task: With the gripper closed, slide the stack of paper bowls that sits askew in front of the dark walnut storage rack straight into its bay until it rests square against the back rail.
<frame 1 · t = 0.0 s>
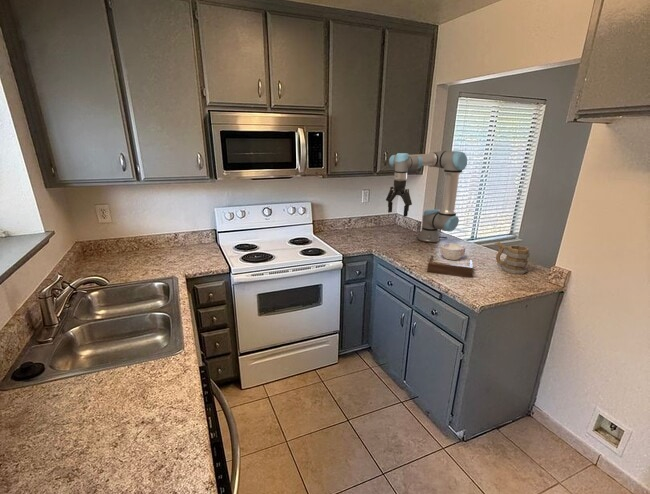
hand: (397, 214, 225), 28 cm above the counter, tool pointing down, fingers open, 13 cm apart
paper bowls: (451, 258, 233), on the counter
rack: (449, 268, 214), on the counter
tankard: (507, 268, 215), on the counter
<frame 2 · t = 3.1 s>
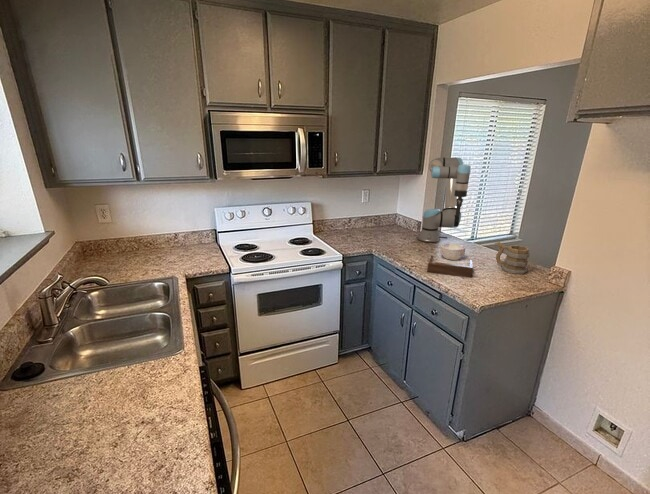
hand: (456, 224, 237), 19 cm above the counter, tool pointing down, fingers open, 8 cm apart
nothing on the counter moved.
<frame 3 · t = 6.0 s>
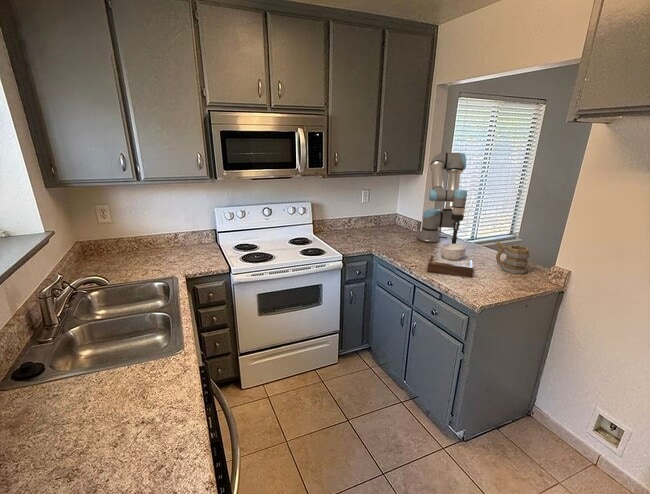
hand: (452, 248, 240), 4 cm above the counter, tool pointing down, fingers closed
paper bowls: (451, 258, 233), on the counter, touching gripper
everything else where it was.
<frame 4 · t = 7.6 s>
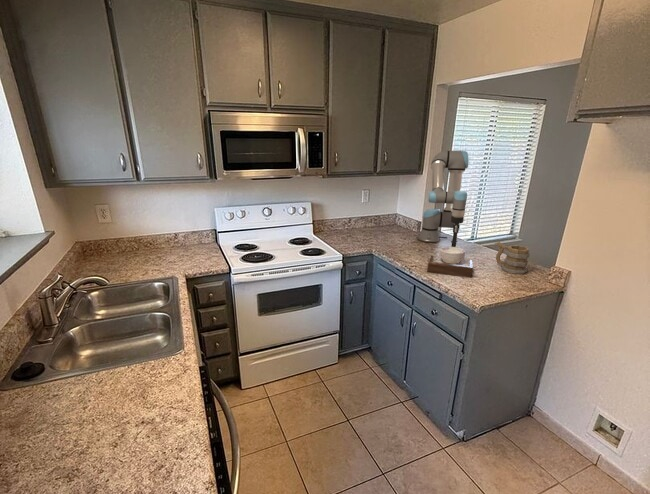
hand: (452, 251, 233), 4 cm above the counter, tool pointing down, fingers closed
paper bowls: (450, 261, 226), on the counter, touching gripper
everything else where it was.
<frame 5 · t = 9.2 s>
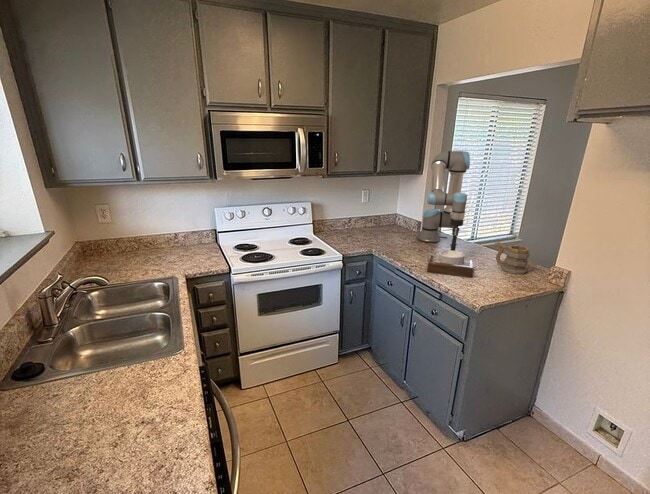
hand: (452, 255, 226), 4 cm above the counter, tool pointing down, fingers closed
paper bowls: (450, 265, 219), on the counter, touching gripper
everything else where it was.
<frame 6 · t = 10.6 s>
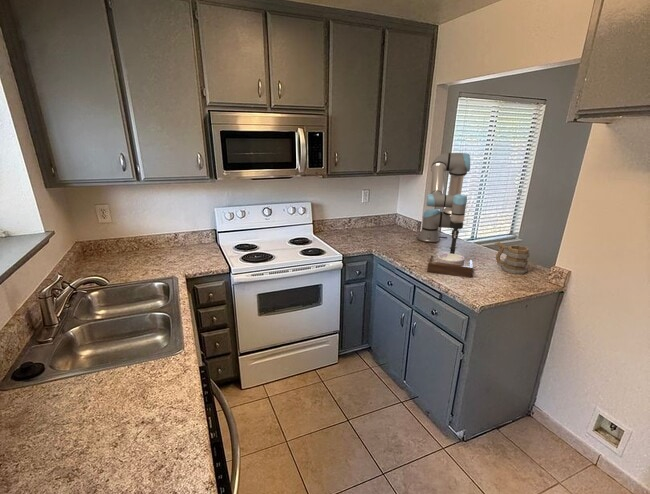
hand: (451, 258, 220), 4 cm above the counter, tool pointing down, fingers closed
paper bowls: (449, 269, 214), on the counter, touching gripper, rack
everything else where it was.
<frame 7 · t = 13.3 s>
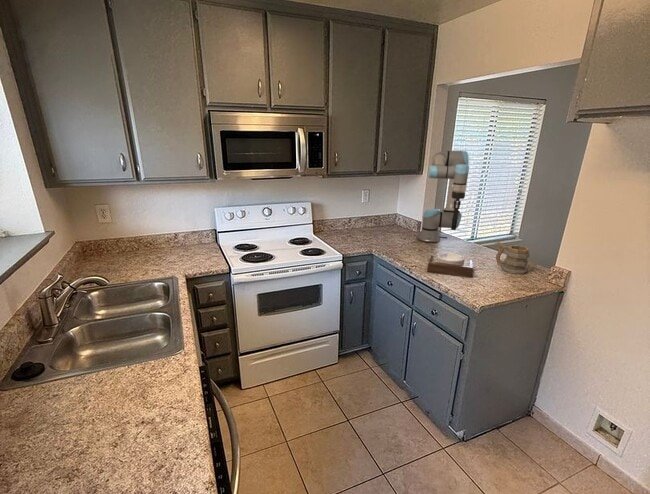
hand: (453, 229, 222), 20 cm above the counter, tool pointing down, fingers closed
paper bowls: (449, 269, 214), on the counter, touching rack
everything else where it was.
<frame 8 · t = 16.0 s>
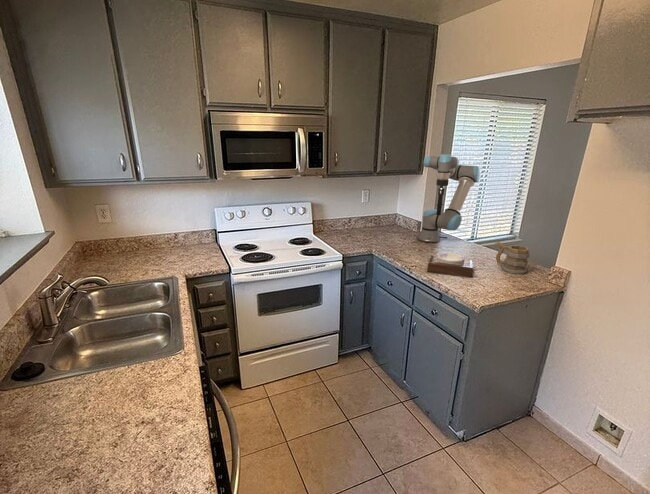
hand: (438, 214, 241), 24 cm above the counter, tool pointing down, fingers closed
paper bowls: (449, 269, 214), on the counter
everything else where it was.
at the end: paper bowls inside the target area on the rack (0.5 cm from its centre), point 0.0 cm above the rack's base; paper bowls tilted 0° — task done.
